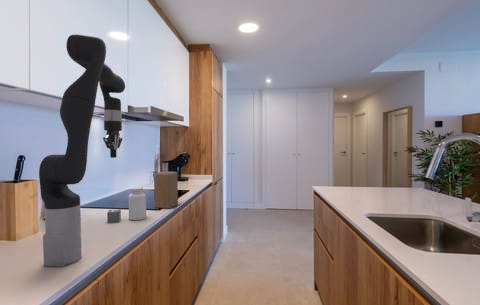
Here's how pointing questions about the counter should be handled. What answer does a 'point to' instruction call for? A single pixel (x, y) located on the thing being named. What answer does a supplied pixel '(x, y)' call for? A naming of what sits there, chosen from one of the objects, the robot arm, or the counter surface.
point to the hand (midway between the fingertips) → (113, 157)
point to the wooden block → (166, 189)
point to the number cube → (114, 216)
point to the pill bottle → (137, 204)
